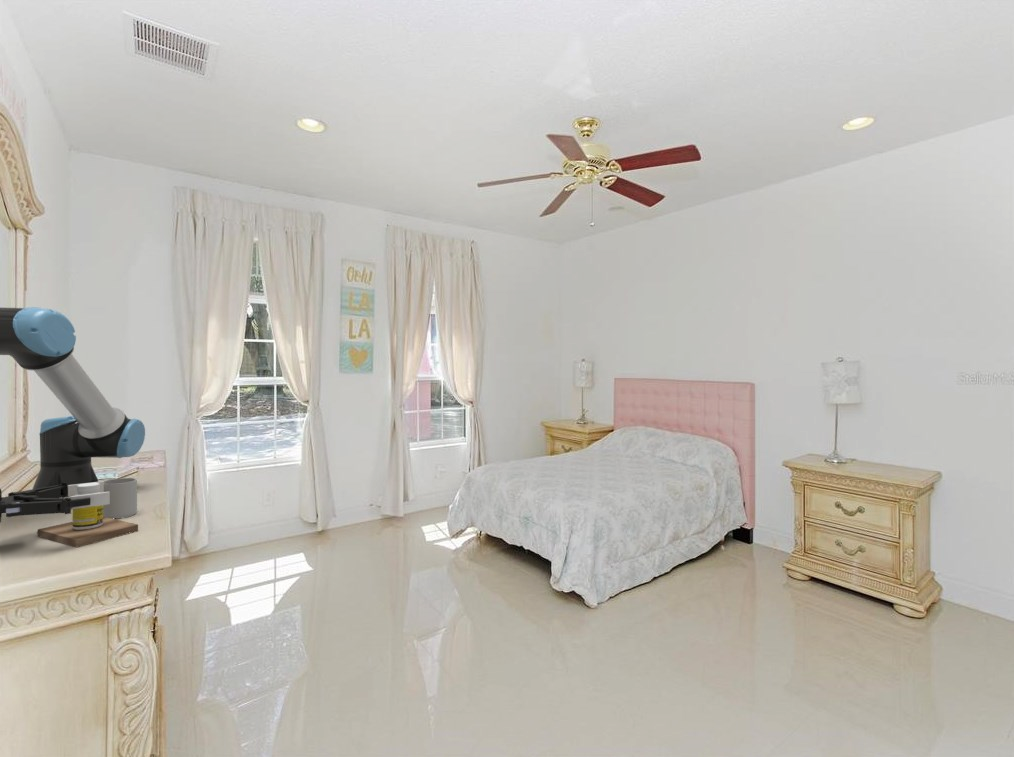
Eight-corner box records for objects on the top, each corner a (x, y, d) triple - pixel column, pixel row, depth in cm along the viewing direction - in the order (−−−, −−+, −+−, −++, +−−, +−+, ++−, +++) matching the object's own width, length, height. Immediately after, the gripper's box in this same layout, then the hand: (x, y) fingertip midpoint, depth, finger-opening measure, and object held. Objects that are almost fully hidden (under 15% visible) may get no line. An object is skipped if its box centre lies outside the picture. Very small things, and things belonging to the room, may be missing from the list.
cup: (102, 521, 124) (102, 485, 124) (100, 512, 131) (100, 478, 131) (138, 515, 129) (138, 481, 129) (134, 507, 136) (134, 475, 136)
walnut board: (37, 535, 113) (37, 529, 113) (99, 521, 124) (99, 515, 124) (76, 547, 106) (76, 540, 106) (138, 530, 117) (138, 524, 117)
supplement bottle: (101, 528, 114) (102, 485, 114) (70, 532, 111) (70, 488, 111) (104, 522, 119) (104, 480, 118) (74, 525, 116) (74, 483, 115)
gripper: (-21, 513, 111) (101, 497, 126) (-32, 542, 93) (112, 520, 108) (-22, 480, 111) (101, 468, 126) (-33, 502, 93) (112, 485, 108)
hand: (106, 492), depth 117 cm, fingers open, 13 cm apart
